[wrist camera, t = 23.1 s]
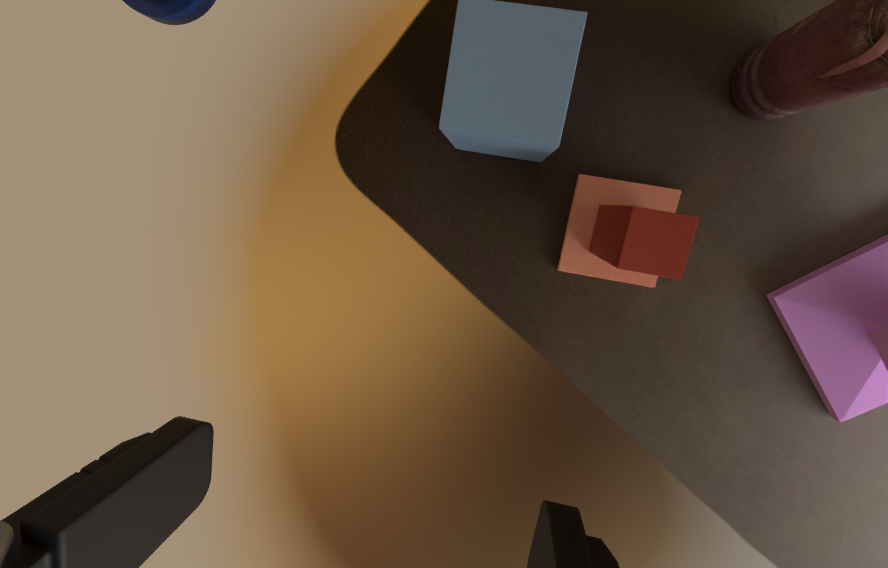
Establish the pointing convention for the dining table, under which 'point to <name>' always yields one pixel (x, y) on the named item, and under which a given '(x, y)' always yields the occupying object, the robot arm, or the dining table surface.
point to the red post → (643, 239)
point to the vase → (842, 328)
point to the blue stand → (510, 77)
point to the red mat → (584, 217)
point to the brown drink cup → (816, 61)
